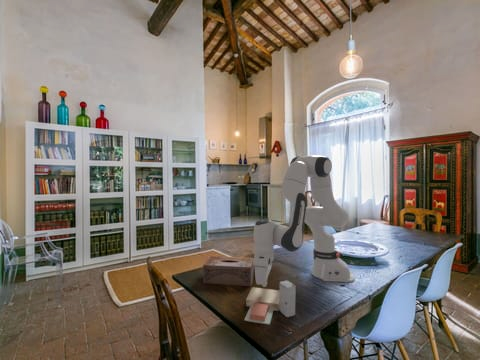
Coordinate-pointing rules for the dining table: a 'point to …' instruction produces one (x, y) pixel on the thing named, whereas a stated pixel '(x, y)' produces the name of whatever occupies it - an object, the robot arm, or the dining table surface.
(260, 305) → the pink tray
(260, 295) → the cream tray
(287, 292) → the skincare box
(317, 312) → the dining table surface
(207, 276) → the tissue box cover
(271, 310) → the mat
